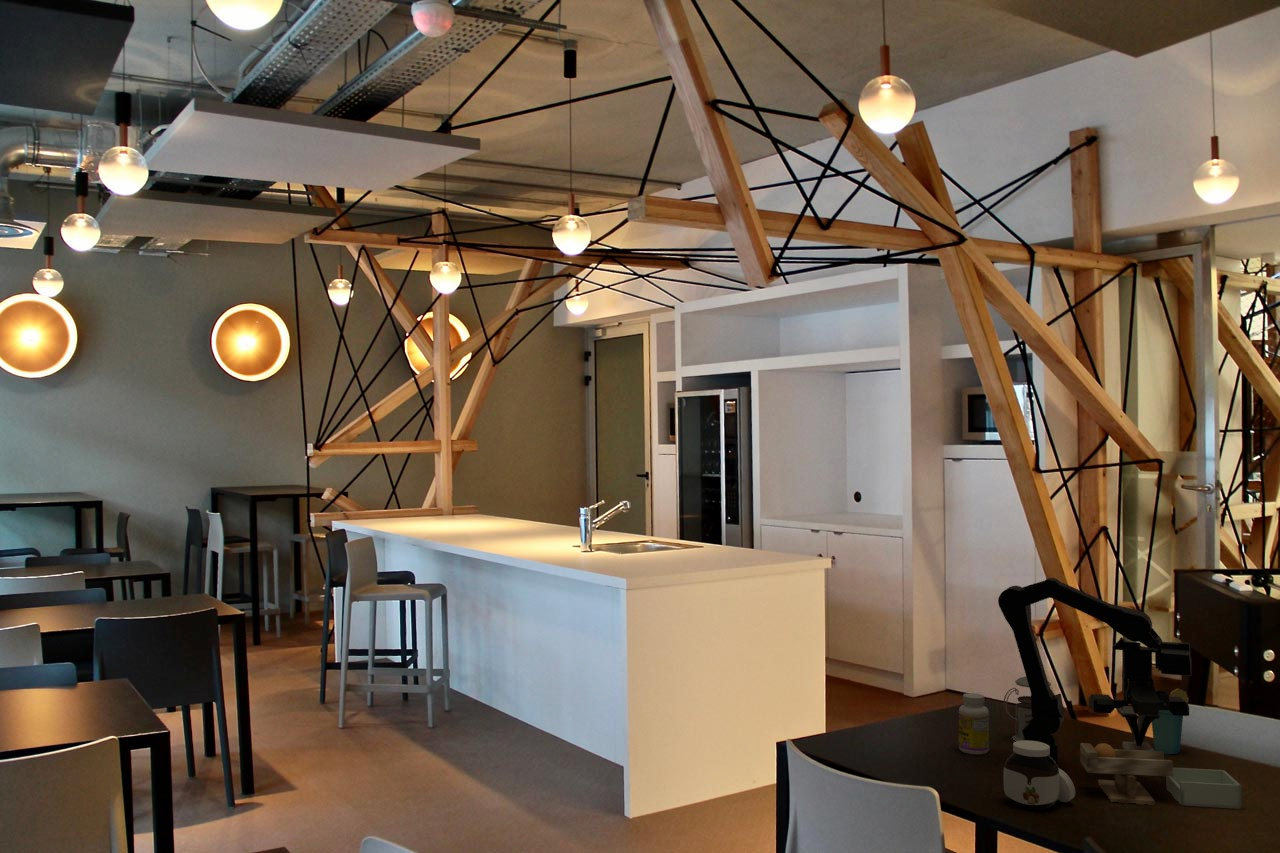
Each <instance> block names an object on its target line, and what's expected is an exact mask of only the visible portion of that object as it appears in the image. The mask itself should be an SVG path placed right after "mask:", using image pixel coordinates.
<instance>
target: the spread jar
mask: <svg viewBox="0 0 1280 853" xmlns="http://www.w3.org/2000/svg"><path fill="white" fill-rule="evenodd" d="M1012 750H1013V752H1012V753H1011V754H1010V755H1009V756H1008V757H1007V758H1006V760H1005V761H1004V762H1005V763H1004V765H1003V790H1004V794H1005V797H1006V798H1007V799H1008V800H1009V802H1011V803H1012V804H1014V805H1015V806H1016V807H1018V808H1021V809H1025V810H1030V811H1044V810H1048V809H1050V808H1051V807H1052V806H1054V805H1055V804H1056V803H1057V801H1059V802H1062V803H1068V802H1070V801H1071V800H1073V799H1074V798H1075V796H1076V787H1075V786H1074V785H1075V784H1074V783H1073V780H1072V779H1071V778H1070V776H1069V775H1068V774H1067V773H1066V772H1065V771H1064V770H1062V769H1061V768H1059V766H1058V764H1056V762H1055V761H1054V760H1053V759H1052V758H1051V757H1050V756H1049V754H1050V747H1049V745H1047V744H1045V743H1042V742H1037V741H1028V740H1023V741H1016V742H1015V741H1013V743H1012Z"/></svg>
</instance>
